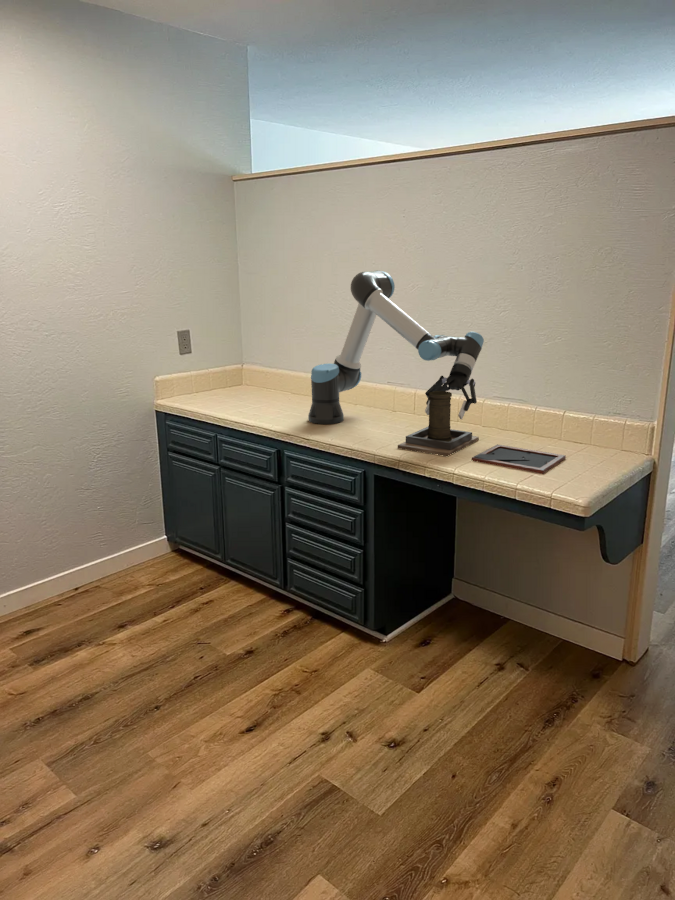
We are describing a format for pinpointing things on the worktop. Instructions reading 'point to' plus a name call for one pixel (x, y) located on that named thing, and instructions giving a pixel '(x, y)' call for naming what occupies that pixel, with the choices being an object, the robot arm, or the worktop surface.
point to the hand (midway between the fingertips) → (443, 415)
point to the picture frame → (519, 458)
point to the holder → (438, 442)
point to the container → (439, 416)
